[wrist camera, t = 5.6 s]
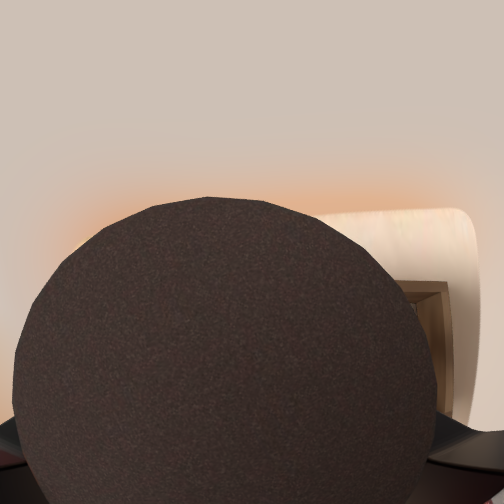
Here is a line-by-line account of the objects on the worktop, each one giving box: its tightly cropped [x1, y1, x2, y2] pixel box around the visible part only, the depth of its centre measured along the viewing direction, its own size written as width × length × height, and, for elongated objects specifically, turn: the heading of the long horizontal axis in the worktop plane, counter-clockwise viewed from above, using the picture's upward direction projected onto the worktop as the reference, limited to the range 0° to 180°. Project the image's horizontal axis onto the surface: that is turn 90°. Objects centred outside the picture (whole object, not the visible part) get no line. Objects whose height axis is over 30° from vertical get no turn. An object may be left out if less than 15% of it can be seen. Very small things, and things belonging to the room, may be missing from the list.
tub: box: [394, 280, 454, 418], centre depth 18 cm, size 11×11×4 cm
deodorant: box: [12, 197, 437, 504], centre depth 10 cm, size 6×6×15 cm
